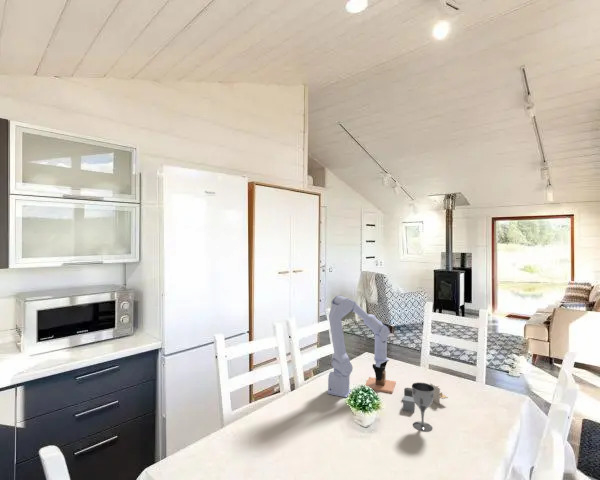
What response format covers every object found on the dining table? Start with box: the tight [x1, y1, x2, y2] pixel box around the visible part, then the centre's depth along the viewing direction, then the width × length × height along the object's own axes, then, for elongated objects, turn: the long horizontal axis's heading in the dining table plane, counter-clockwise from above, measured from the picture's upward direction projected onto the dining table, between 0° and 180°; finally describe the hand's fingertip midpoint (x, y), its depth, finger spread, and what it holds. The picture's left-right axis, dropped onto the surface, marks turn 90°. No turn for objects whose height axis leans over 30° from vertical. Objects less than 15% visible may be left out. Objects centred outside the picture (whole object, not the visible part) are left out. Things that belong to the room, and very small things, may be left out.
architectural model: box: [429, 383, 448, 406], centre depth 150 cm, size 3×7×8 cm, turn 21°
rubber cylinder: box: [403, 387, 413, 397], centre depth 153 cm, size 4×4×4 cm
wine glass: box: [411, 382, 434, 433], centre depth 130 cm, size 8×8×15 cm
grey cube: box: [402, 396, 416, 413], centre depth 144 cm, size 4×4×4 cm
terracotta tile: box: [364, 376, 397, 394], centre depth 166 cm, size 13×12×1 cm
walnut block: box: [376, 370, 387, 386], centre depth 166 cm, size 4×4×6 cm
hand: (380, 377), depth 166 cm, fingers open, 7 cm apart
